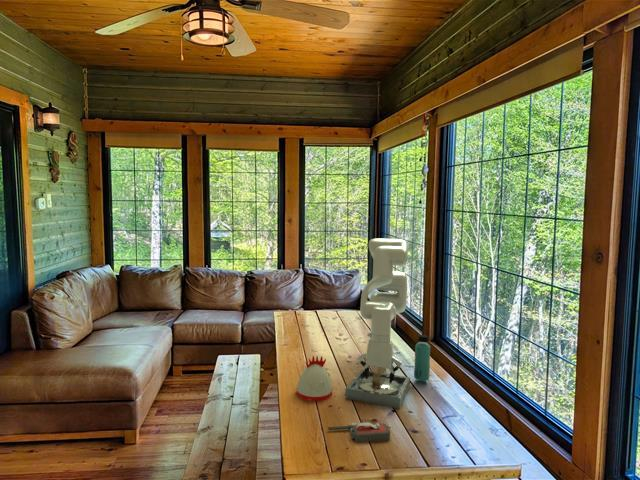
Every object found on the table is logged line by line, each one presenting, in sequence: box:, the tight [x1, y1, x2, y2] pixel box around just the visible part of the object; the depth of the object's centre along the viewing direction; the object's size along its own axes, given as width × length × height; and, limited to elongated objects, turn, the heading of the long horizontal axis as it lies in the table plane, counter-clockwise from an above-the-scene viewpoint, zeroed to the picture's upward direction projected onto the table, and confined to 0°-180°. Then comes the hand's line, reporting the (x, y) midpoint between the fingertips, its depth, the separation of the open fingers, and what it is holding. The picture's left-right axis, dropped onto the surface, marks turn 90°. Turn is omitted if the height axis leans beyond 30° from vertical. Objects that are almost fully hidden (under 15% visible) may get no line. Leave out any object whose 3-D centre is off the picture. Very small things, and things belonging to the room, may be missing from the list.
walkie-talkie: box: [327, 422, 391, 443], centre depth 142 cm, size 9×4×20 cm
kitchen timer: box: [296, 355, 333, 402], centre depth 172 cm, size 14×14×15 cm
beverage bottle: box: [413, 334, 432, 382], centre depth 185 cm, size 6×7×20 cm
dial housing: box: [344, 369, 411, 410], centre depth 174 cm, size 21×21×4 cm
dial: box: [359, 367, 399, 395], centre depth 174 cm, size 16×16×6 cm
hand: (379, 379), depth 174 cm, fingers open, 9 cm apart
